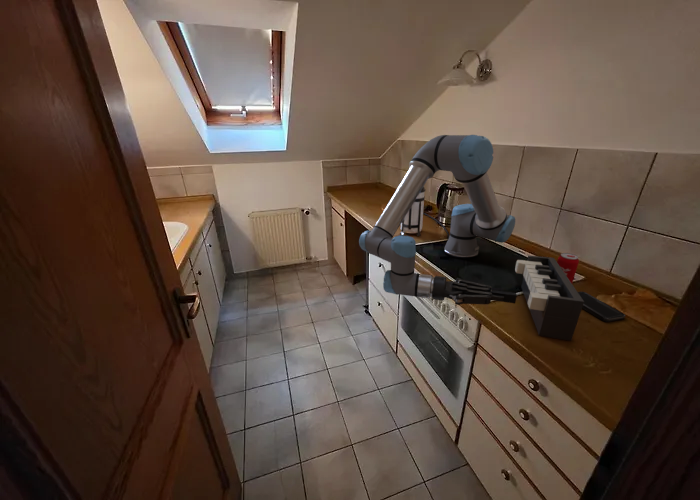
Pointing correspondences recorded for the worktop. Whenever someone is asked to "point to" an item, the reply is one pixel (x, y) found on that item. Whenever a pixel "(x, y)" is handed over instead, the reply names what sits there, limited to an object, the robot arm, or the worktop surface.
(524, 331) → the worktop surface
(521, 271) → the key far
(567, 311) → the piano
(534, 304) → the key near
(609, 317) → the phone
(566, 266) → the beverage can
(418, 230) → the coffee press
